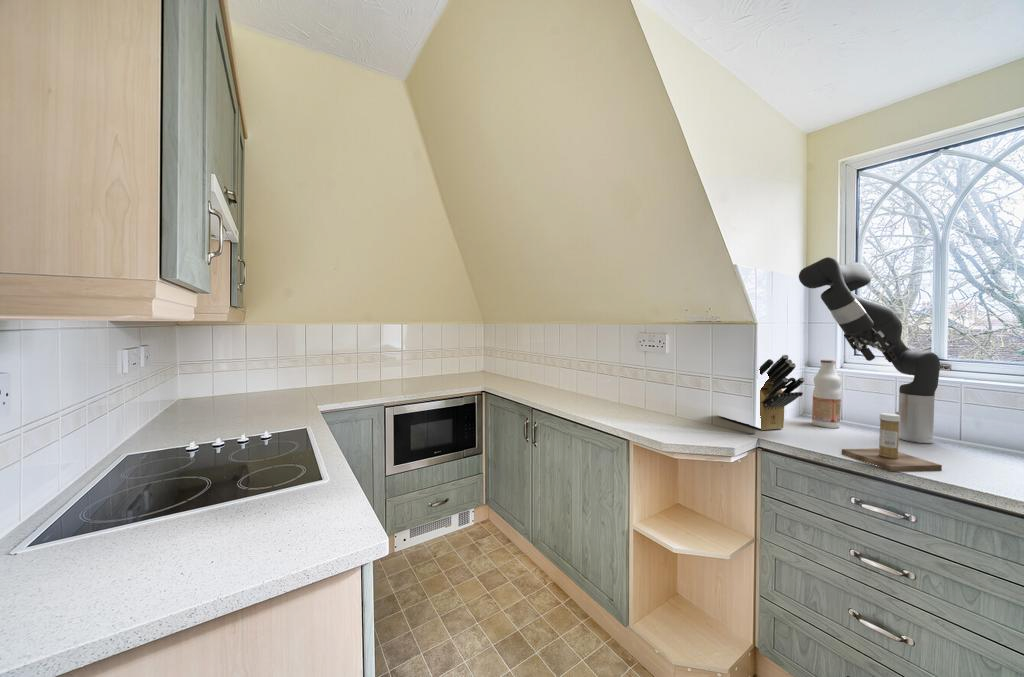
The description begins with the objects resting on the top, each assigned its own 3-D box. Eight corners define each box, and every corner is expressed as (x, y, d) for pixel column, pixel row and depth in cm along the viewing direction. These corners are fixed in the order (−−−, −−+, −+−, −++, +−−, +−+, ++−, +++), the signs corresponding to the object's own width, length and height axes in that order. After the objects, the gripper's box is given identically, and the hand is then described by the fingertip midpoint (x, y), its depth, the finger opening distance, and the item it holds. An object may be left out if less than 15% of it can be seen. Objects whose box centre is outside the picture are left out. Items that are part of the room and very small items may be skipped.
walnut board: (841, 453, 131) (841, 449, 131) (886, 452, 132) (886, 448, 132) (891, 471, 115) (891, 466, 115) (941, 470, 116) (941, 465, 116)
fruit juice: (817, 427, 165) (820, 360, 164) (807, 422, 174) (809, 358, 173) (844, 429, 162) (847, 361, 161) (833, 423, 171) (835, 359, 170)
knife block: (781, 437, 149) (784, 356, 148) (714, 416, 184) (715, 350, 182) (805, 436, 152) (808, 355, 151) (734, 415, 186) (736, 349, 185)
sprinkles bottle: (900, 457, 123) (901, 414, 123) (895, 460, 121) (897, 416, 120) (880, 453, 127) (882, 411, 126) (876, 455, 124) (877, 413, 124)
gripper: (880, 308, 116) (914, 354, 115) (845, 311, 130) (875, 352, 129) (856, 322, 117) (889, 368, 116) (824, 323, 131) (854, 365, 130)
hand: (882, 360), depth 122 cm, fingers open, 8 cm apart
